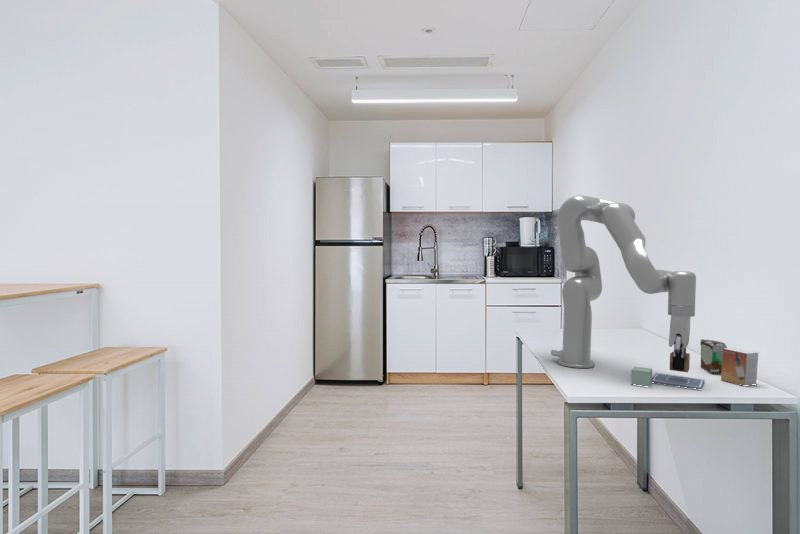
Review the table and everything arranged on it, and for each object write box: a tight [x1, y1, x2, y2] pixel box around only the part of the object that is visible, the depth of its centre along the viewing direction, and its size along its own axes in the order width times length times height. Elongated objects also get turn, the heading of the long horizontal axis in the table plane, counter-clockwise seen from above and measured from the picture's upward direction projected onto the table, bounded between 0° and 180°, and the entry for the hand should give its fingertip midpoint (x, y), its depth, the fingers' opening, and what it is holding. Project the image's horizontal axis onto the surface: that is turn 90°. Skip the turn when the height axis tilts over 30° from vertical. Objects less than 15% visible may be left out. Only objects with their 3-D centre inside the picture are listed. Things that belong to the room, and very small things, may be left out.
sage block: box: [630, 366, 653, 388], centre depth 163 cm, size 5×5×5 cm
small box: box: [720, 347, 759, 385], centre depth 168 cm, size 8×6×10 cm
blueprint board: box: [652, 372, 706, 390], centre depth 167 cm, size 14×12×1 cm
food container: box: [700, 339, 728, 375], centre depth 182 cm, size 12×6×10 cm, turn 168°
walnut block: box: [669, 351, 691, 373], centre depth 166 cm, size 5×5×5 cm
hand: (679, 367), depth 166 cm, fingers closed on walnut block, 4 cm apart
